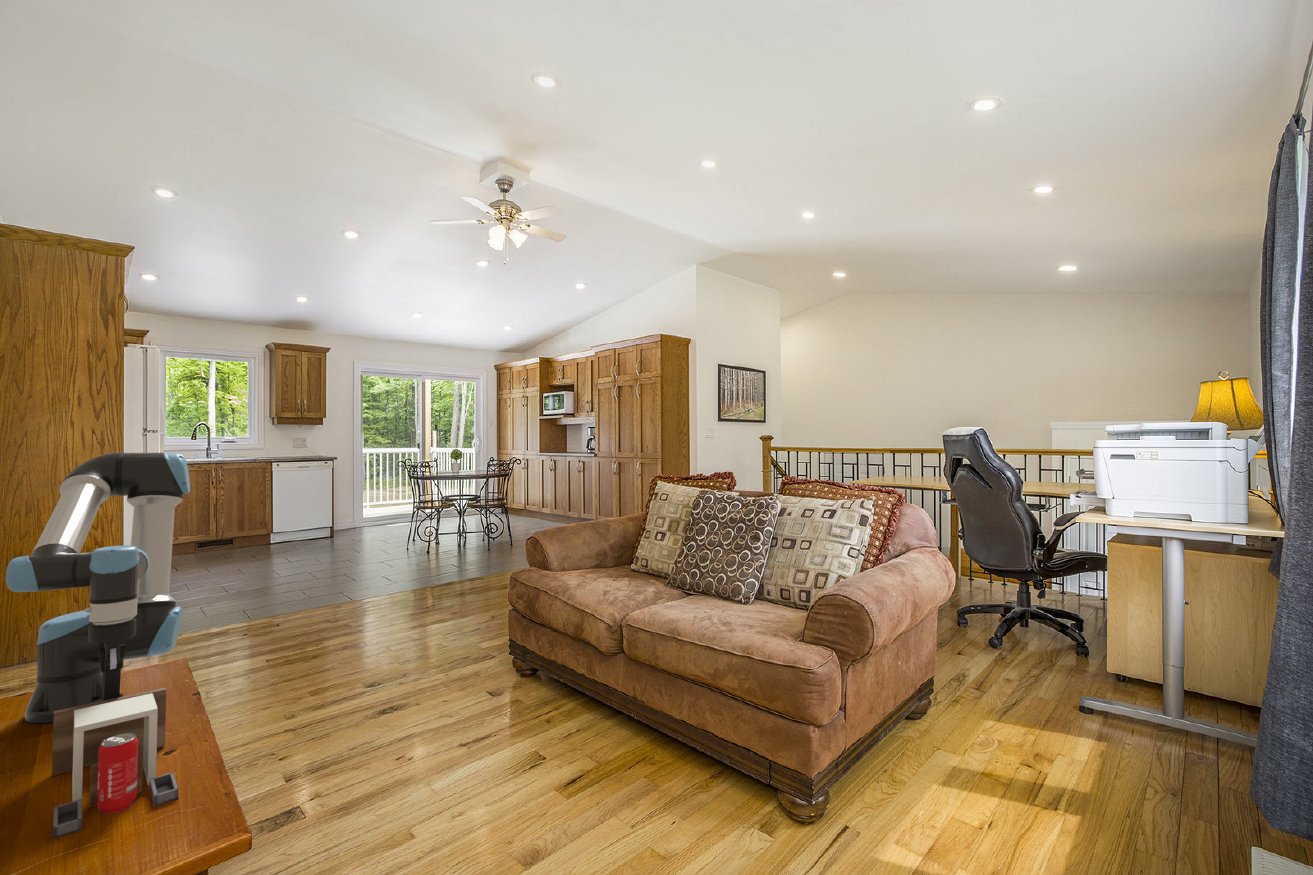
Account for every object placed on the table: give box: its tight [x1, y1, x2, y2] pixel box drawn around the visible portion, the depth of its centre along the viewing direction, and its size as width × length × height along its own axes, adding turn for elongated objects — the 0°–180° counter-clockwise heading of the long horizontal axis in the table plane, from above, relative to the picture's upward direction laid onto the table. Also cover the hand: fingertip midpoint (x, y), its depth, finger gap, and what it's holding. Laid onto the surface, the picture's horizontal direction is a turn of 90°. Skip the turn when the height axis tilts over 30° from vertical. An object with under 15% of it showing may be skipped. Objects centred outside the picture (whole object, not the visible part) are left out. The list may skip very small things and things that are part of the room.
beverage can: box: [96, 733, 138, 815], centre depth 106 cm, size 5×5×12 cm
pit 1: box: [52, 799, 83, 840], centre depth 101 cm, size 8×3×2 cm, turn 45°
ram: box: [51, 687, 167, 808], centre depth 115 cm, size 20×17×12 cm
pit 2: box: [149, 771, 179, 807], centre depth 110 cm, size 8×3×2 cm, turn 45°
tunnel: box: [71, 693, 158, 804], centre depth 113 cm, size 10×11×14 cm
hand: (109, 732), depth 125 cm, fingers closed
